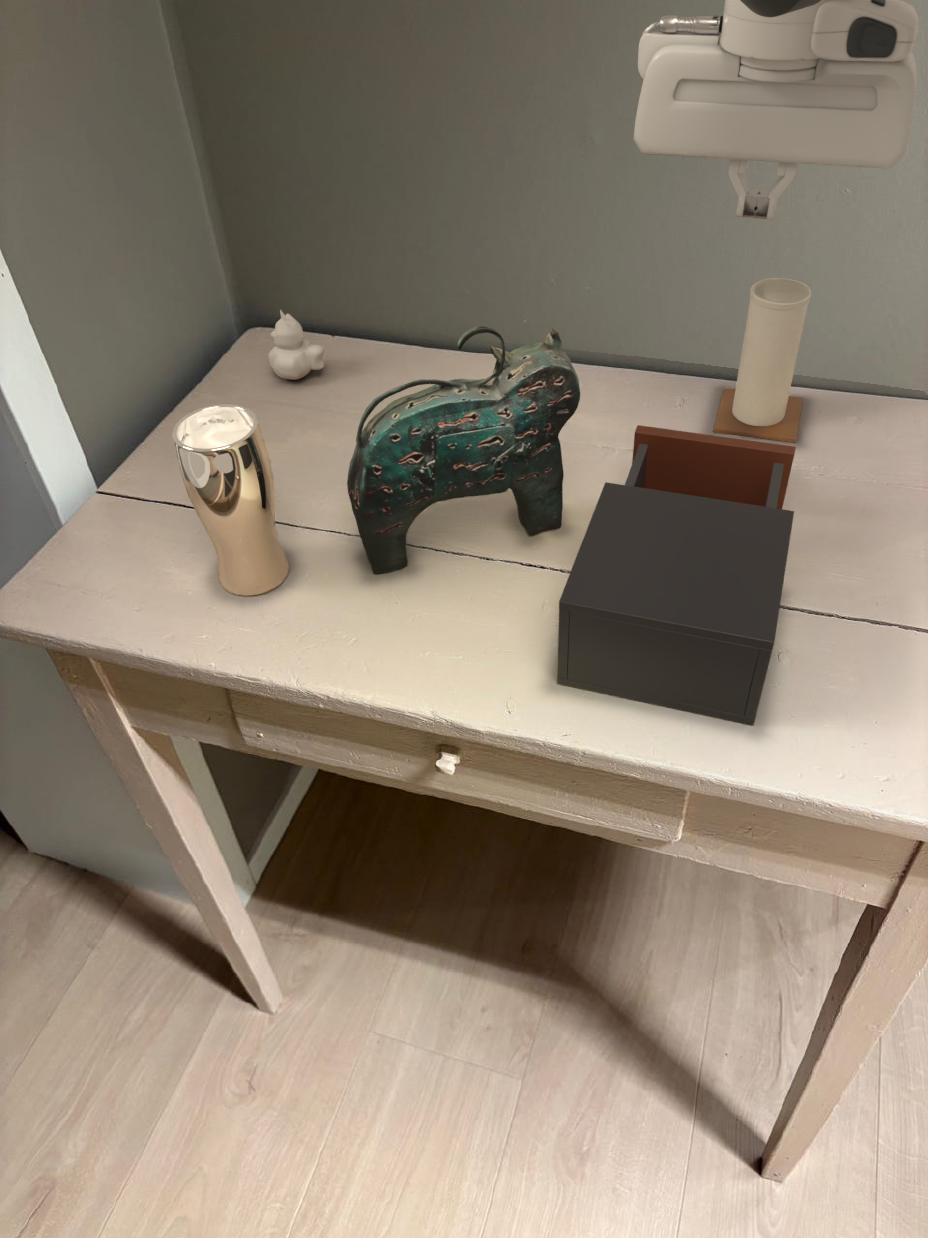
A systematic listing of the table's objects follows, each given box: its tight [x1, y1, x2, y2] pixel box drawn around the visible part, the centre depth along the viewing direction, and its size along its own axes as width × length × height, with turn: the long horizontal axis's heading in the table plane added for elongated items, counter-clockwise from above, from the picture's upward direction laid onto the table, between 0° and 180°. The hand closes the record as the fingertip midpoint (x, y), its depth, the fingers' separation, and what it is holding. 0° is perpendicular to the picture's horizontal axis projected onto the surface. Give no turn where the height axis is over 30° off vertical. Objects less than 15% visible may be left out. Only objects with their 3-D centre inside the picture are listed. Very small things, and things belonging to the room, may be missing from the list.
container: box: [732, 277, 812, 426], centre depth 93 cm, size 5×5×13 cm
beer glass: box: [171, 403, 290, 597], centre depth 79 cm, size 7×7×15 cm
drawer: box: [624, 424, 796, 509], centre depth 82 cm, size 18×13×7 cm
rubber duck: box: [267, 308, 325, 381], centre depth 106 cm, size 5×7×8 cm
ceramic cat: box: [346, 325, 581, 575], centre depth 79 cm, size 20×6×20 cm, turn 108°
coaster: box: [712, 387, 804, 444], centre depth 98 cm, size 8×8×1 cm
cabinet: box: [556, 482, 795, 726], centre depth 73 cm, size 15×15×9 cm
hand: (755, 215), depth 77 cm, fingers closed
